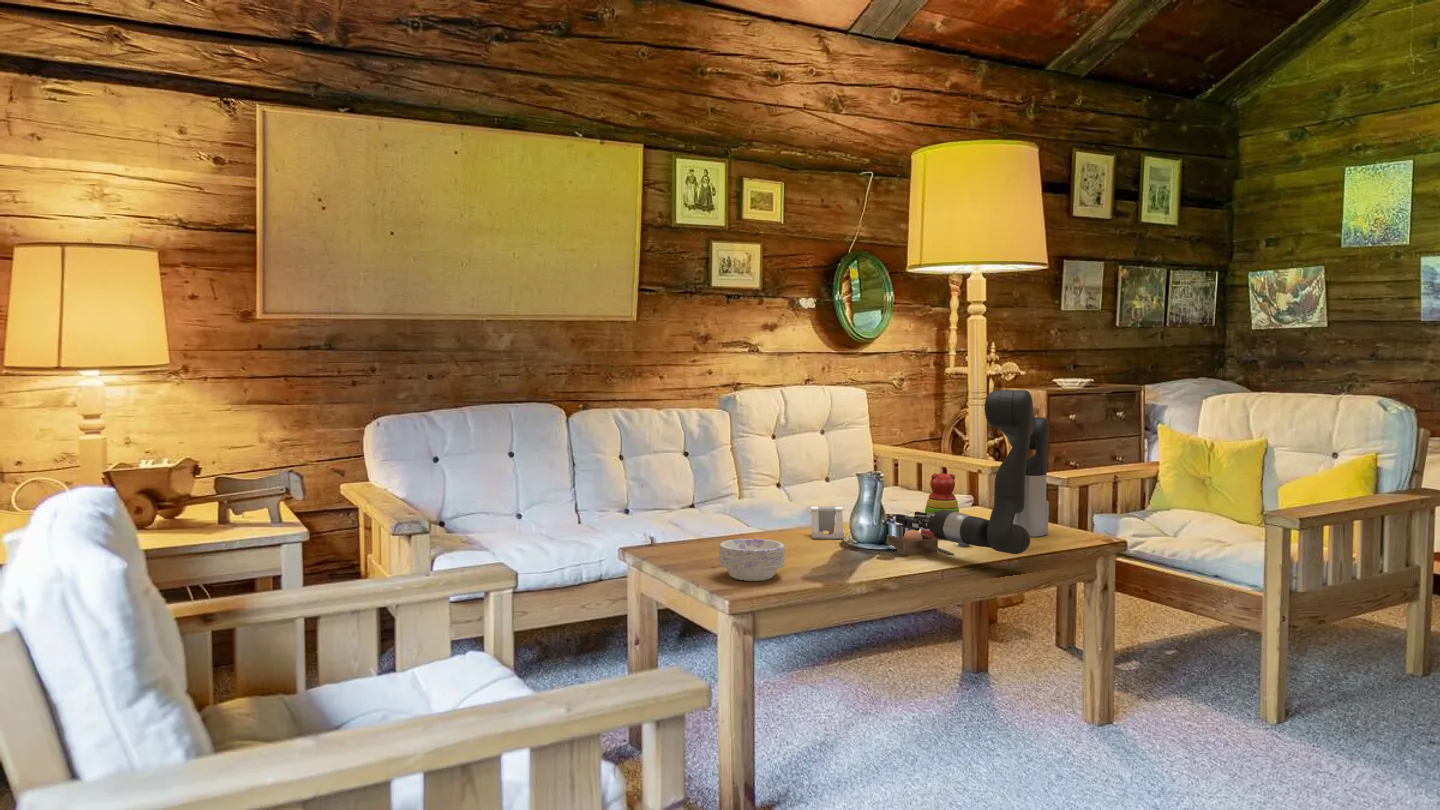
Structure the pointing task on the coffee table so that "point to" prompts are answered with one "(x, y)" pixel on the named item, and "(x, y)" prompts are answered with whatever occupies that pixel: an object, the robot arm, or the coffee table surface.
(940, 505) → the stacking bear
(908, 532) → the ball
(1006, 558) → the coffee table surface
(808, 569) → the coffee table surface
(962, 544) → the tee
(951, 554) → the finish line
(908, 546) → the shallow wooden crate
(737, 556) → the paper bowls
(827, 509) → the portable electronic device stand
